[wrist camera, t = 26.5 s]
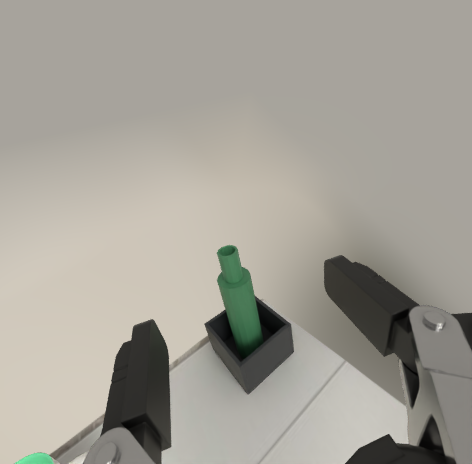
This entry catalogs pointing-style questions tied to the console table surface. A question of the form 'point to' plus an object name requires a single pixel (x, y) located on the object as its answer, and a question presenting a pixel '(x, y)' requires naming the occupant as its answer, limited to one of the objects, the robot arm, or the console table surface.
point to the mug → (48, 459)
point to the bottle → (239, 301)
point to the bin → (263, 357)
